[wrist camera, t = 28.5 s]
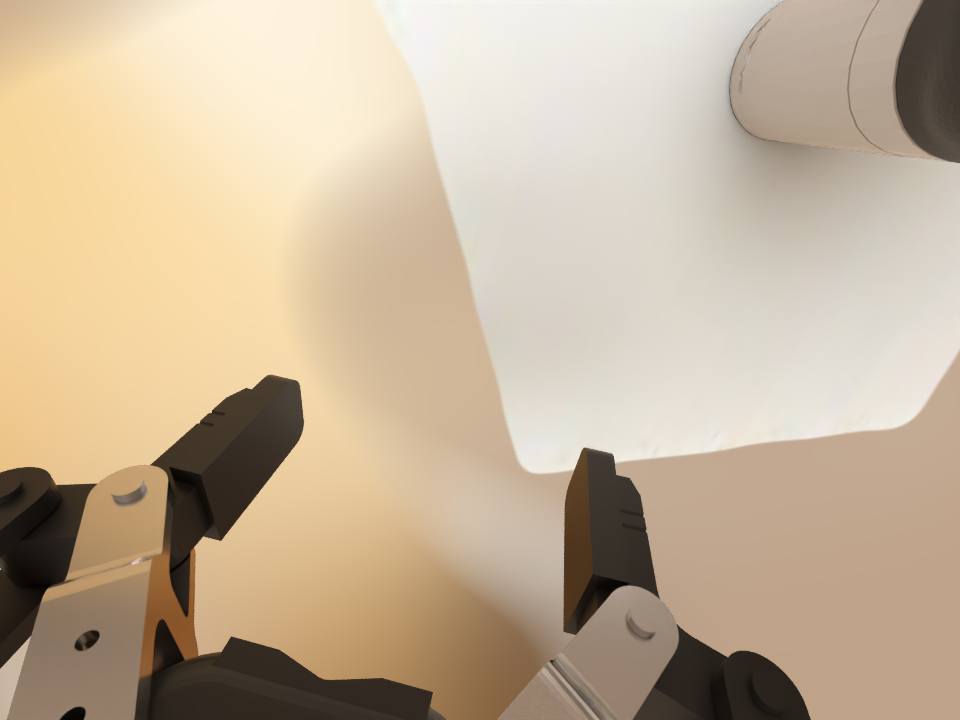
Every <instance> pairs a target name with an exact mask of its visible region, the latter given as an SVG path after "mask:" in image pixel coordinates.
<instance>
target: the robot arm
mask: <svg viewBox="0 0 960 720" xmlns="http://www.w3.org/2000/svg"><path fill="white" fill-rule="evenodd" d="M730 98H731V105H732V108H733V111H734V114H735V116H736V118H737V120H738V121H739V122H740V124H741V125H742V127H743V128H745V129H746V130H747V131H748V132H750V133H751V134H752V135H754V136H757V137H759V138H761V139H766V140H772V141H780V142H787V143H794V144H802V145H810V146H818V147H827V148H835V149H844V150H852V151H860V152H869V153H877V154H885V155H894V156H904V157H914V158H922V159H930V160H939V161H947V162H956V163H960V0H785V1H783V2H781V3H779V4H778V5H777V6H776V7H774V8H773V9H772V10H771V11H770V12H768V13H767V14H766V15H765V16H764V17H763V18H762V19H761V20H760V21H759V22H758V24H757V25H756V26H755V27H754V28H753V29H752V31H751V32H750V34H749V35H748V37H747V38H746V40H745V41H744V43H743V45H742V47H741V49H740V51H739V53H738V55H737V58H736V60H735V63H734V67H733V71H732V74H731V82H730ZM303 426H304V419H303V409H302V400H301V391H300V385H299V383H298V382H297V381H296V380H292V379H287V378H283V377H279V376H274V375H268V376H266V377H265V378H264V379H262V380H261V381H260V382H259V383H258V384H257V385H256V386H255V387H254V388H253V389H248V388H245V389H243V390H241V391H239V392H237V393H235V394H233V395H231V396H229V397H227V398H226V399H224V400H223V401H222V402H221V403H220V404H219V405H218V406H217V407H215V408H214V409H213V410H212V413H209V414H207V416H205V417H204V418H203V419H202V420H201V421H200V423H199V424H196V425H195V426H194V427H193V428H192V429H191V430H189V431H188V432H187V433H186V434H185V435H184V436H183V437H181V438H180V439H179V440H178V441H177V442H176V443H175V444H174V445H173V446H171V447H170V448H169V449H168V450H167V451H166V452H165V453H163V454H162V455H161V456H160V457H159V458H158V459H157V460H156V461H154V462H153V463H152V464H151V465H141V466H133V467H129V468H125V469H123V470H120V471H118V472H115V473H113V474H111V475H109V476H108V477H106V478H105V479H103V480H102V481H100V482H99V483H98V484H76V485H75V484H73V485H56V484H55V482H54V481H53V479H52V477H51V475H50V474H49V473H48V472H47V471H46V470H43V469H41V468H35V467H24V468H16V469H12V470H7V471H4V472H1V473H0V568H1V570H0V668H1V667H2V666H3V665H4V664H5V663H6V662H7V661H8V660H9V659H10V658H11V657H12V655H13V654H14V653H15V652H16V651H17V650H18V649H19V648H20V647H21V646H22V645H23V644H24V643H25V642H26V640H27V639H28V638H29V637H30V636H31V639H30V642H29V645H28V649H27V652H26V656H25V659H24V663H23V666H22V669H21V673H20V677H19V680H18V683H17V687H16V690H15V694H14V697H13V701H12V704H11V707H10V711H9V714H8V718H7V720H446V719H445V718H444V717H443V716H442V715H441V714H439V713H438V712H436V711H435V710H433V709H432V708H431V707H430V704H431V699H432V694H433V692H430V691H426V690H423V689H419V688H416V687H412V686H409V685H405V684H401V683H397V682H394V681H390V680H387V679H383V678H376V679H375V678H373V679H350V680H349V679H348V680H324V679H321V678H319V677H317V676H316V675H315V674H313V673H312V672H311V671H309V670H308V669H306V668H305V667H303V666H302V665H301V664H299V663H297V662H296V661H295V660H293V659H292V658H290V657H289V656H288V655H286V654H285V653H283V652H282V651H280V650H278V649H274V648H271V647H267V646H264V645H260V644H256V643H252V642H249V641H246V640H242V639H238V638H235V637H231V638H230V639H229V641H228V643H227V644H226V646H225V647H224V649H223V651H222V652H217V653H211V654H205V655H201V656H198V648H197V642H196V637H195V630H194V602H195V555H196V554H195V549H194V546H195V545H196V544H197V543H198V542H199V541H200V540H201V538H202V537H203V536H204V537H208V538H212V539H216V540H219V541H221V540H222V539H223V538H224V536H225V535H226V534H227V532H228V531H229V530H230V528H231V527H232V526H233V525H234V523H235V522H236V521H237V520H238V518H239V517H240V516H241V514H242V513H243V512H244V511H245V509H246V508H247V507H248V505H249V504H250V503H251V502H252V500H253V499H254V498H255V497H256V495H257V494H258V493H259V491H260V490H261V489H262V488H263V486H264V485H265V484H266V482H267V481H268V480H269V479H270V477H271V476H272V475H273V473H274V472H275V471H276V469H277V468H278V467H279V465H280V464H281V463H282V462H283V461H284V459H285V458H286V457H287V456H288V454H289V453H290V452H291V450H292V449H293V448H294V447H295V445H296V444H297V442H298V441H299V439H300V437H301V434H302V431H303ZM643 514H644V513H643V507H642V502H641V496H640V494H639V493H638V491H637V489H636V488H635V486H634V485H633V483H632V481H631V480H630V478H627V477H623V476H618V475H616V470H615V462H614V456H613V454H611V453H607V452H603V451H598V450H594V449H589V448H583V450H582V452H581V454H580V457H579V460H578V462H577V465H576V468H575V470H574V473H573V475H572V478H571V481H570V483H569V486H568V490H567V494H566V501H565V534H564V535H565V536H564V632H567V633H570V634H574V635H576V636H575V637H574V638H573V639H572V640H571V641H570V643H569V644H568V645H567V646H566V647H565V648H564V650H563V651H562V652H561V653H560V654H559V655H558V656H557V657H556V658H555V659H554V660H551V661H549V662H548V663H547V664H546V665H545V666H544V667H543V668H542V669H541V670H540V671H539V672H538V673H537V675H536V676H535V677H534V678H533V679H532V680H531V681H530V683H529V684H528V685H527V686H526V687H525V688H524V689H523V691H522V692H521V693H520V694H519V695H518V696H517V697H516V699H515V700H514V701H513V702H512V703H511V704H510V706H509V707H508V708H507V709H506V710H505V711H504V713H503V714H502V715H501V716H500V717H499V718H498V719H497V720H811V719H810V716H809V714H808V710H807V707H806V705H805V703H804V700H803V698H802V696H801V694H800V692H799V691H798V689H797V688H796V686H795V685H794V684H793V682H792V681H791V680H790V678H789V677H788V676H787V675H786V674H785V673H784V672H783V671H782V670H781V669H780V668H779V667H777V666H776V665H775V664H774V663H773V662H771V661H770V660H768V659H767V658H765V657H763V656H761V655H759V654H757V653H754V652H750V651H737V652H735V653H732V654H731V655H730V656H729V657H726V656H724V655H723V654H720V653H719V652H717V651H716V650H714V649H712V648H711V647H709V646H707V645H706V644H704V643H702V642H700V641H699V640H697V639H695V638H693V637H692V636H691V635H689V634H688V633H686V632H685V631H684V630H683V629H681V628H680V627H679V626H678V625H677V624H676V622H675V619H674V617H673V615H672V614H671V612H670V610H669V609H668V608H667V607H666V605H665V604H664V603H663V602H662V601H661V600H660V598H659V595H658V591H657V586H656V580H655V575H654V569H653V564H652V558H651V552H650V547H649V541H648V536H647V533H646V524H645V519H644V517H643Z"/></svg>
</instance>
